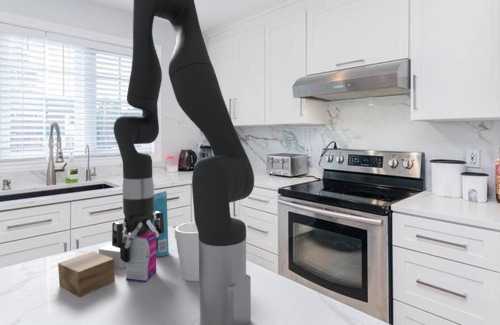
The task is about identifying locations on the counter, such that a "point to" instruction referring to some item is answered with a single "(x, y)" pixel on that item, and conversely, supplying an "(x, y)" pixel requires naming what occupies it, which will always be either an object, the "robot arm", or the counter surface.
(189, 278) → the foam cup
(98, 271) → the walnut block
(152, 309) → the counter surface
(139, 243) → the supplement box
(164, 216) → the tube
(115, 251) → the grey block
